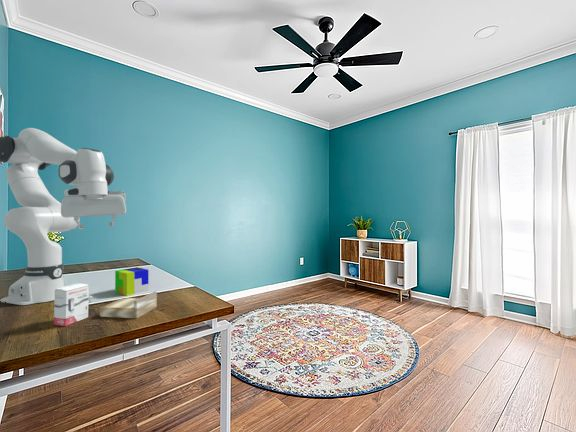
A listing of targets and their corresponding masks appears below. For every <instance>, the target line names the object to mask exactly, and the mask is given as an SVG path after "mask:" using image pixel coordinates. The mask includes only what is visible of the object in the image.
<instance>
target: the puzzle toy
mask: <svg viewBox="0 0 576 432" xmlns="http://www.w3.org/2000/svg"><path fill="white" fill-rule="evenodd" d="M114 273H115V275H114V277H115V278H114V281H115V282H114V283H115V284H114V286H115V293H117V294H120V295H123V296H127V297H128V296H131V295H136V294H140V293H144V292H149V269H147V268H143V267H129V268H125V269H118V270H115V271H114Z"/></svg>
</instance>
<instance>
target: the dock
mask: <svg viewBox="0 0 576 432" xmlns="http://www.w3.org/2000/svg"><path fill="white" fill-rule="evenodd" d="M157 299H158V292H157V291H152V292H150V293H149V294H146V295H144V296H142V297H139V298H135V297H133V298H131V297H122V298H121V299H118V300H115V301H113V302H111V303H108V304H106V305H104V306H100V307H99V317H102V318H118V319H119V318H123V319H138V318H140V317H142V316H143V315H146V314H147V313H149V312H151V311H152V310H154V309H156V308H157V306H158V304H157V302H158V300H157Z"/></svg>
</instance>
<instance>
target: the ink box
mask: <svg viewBox="0 0 576 432" xmlns="http://www.w3.org/2000/svg"><path fill="white" fill-rule="evenodd" d="M89 291H90V285H89V284H87V283H80V282H79V283H73V284H68V285H66V286H65V287H61V288H57V289H56V290H55V298H54V300H53V301H54V302H53V304H54V306H53V307H54V309H53V311H54V312H53V326H61V327H68V326H69V325H72V324H74V323H77V322H79V321H81V320H85V319H87V318H89V304H88V301H89V296H90V295H89V294H90V293H89Z"/></svg>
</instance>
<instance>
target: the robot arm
mask: <svg viewBox="0 0 576 432" xmlns="http://www.w3.org/2000/svg"><path fill="white" fill-rule="evenodd" d="M0 163H3V164H5V163H7V164H11V165H10V166H8V167H7V168H6V169H5V175H6V179H7V180H6V181H7V183H8V186H9V188H10V191H11V192H12V195H13V196H14V199H15V200H16V202H17V204H19V205H20V206H21V207H14V208H11V209H9V210H8V211H7V212H5V215H4V218H3V223H4V226H5V228H6V229H7V230H8V231H10V232H11V233H13V234H15V235H16V236H18V238H20V240H21V241H22V242H23V244H24V246H25V248H26V253H27V266H26V267H24V268H22V269H21V272H23V276H21V278H19V279H18V280H16V281H15V282H13V283H12V284H10V286H9V288H8V295H7V296H5V297H2V298H1V299H0V301H1V302H0V303H5V302H6V303H5V304H13V305H18V306H27V305H32V304H38V303H39V304H40V303H47V302H52V301H54V298H55V290H56V289H57V288H61V287H65V279H64V275H63V273H64V264H63V248H62V246H61V245H60V244H59V243H58V242H56V241H53V240H51V239H50V237H49V236H48V233H63V232H68V231H71V230H75V229H76V228H78V230H84V229H85V226H84V224H83V223H80V219H81V217H99V216H100V217H102V216H111V218H113V219H112V221H110V222H109V221H108V224H109V226H108V227H109V228H112V227H113V228H114V227H115V224H114V223H115V221H116V219H117V216H118V215H120V216H121V215H125V214H126V213H127V206H126V205H127V204H126V202H127V194H126V193H125V192H124V191H122V190H108V189H109V188H108V187H109V186H111V184H112V183H113V182H114V179H115V174H114V171H113V170H112V168H111V167H110V165H108V164H106V159H105V155H104V153H103V152H102V151H101V150H99V149H94V148H89V147H81V148H78V149H77V150H75V149H74V148H71V147H69V146H68V145H66V144H65V143H63V142H61V141H60V140H58V139H56V138H55V137H53V135H51V134H49V133H47V132H46V131H43V130H41V129H38V128H35V127H25V128H24V129H21V131H19V134H18V136H17V137H11V136H9V135H3V136H0ZM50 165H56V166H57V165H58V176H59V178H60V180H61V181H62V182H63V183H64V184H66V185H70V186H75V187H72V188H68V189H64V191H63V195H64V197H63V198H62V199H61V202H60V201H58V199H56V198H55V197H54V196H53V195H52V194H51V193H50V192H49V190H48V188H47V187H46V186H45V183H44V182H43V180H42V178H41V176H40V175H39V172H38V171H39V170H40V171H44V170H46V168H47V167H49V166H50Z"/></svg>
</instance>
